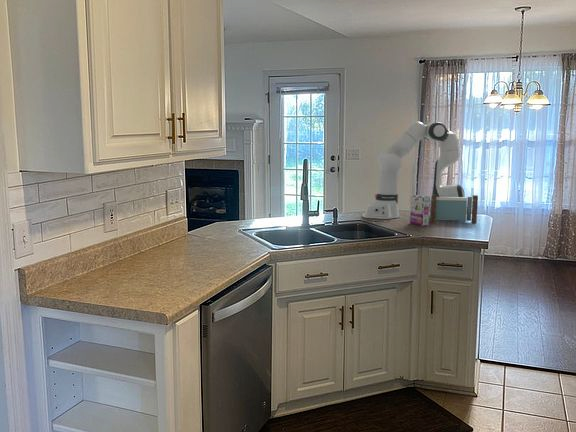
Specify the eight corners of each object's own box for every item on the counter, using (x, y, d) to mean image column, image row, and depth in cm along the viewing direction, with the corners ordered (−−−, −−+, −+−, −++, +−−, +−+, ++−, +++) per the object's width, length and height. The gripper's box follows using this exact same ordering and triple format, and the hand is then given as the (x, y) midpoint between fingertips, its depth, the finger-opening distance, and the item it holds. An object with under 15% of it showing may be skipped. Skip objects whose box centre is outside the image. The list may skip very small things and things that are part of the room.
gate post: (472, 223, 318) (473, 195, 316) (471, 222, 321) (472, 195, 319) (476, 223, 318) (478, 195, 315) (475, 222, 321) (477, 195, 318)
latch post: (431, 222, 320) (432, 195, 318) (430, 222, 322) (431, 194, 320) (435, 223, 320) (436, 195, 317) (435, 222, 322) (436, 194, 320)
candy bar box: (429, 225, 311) (430, 196, 309) (422, 226, 309) (423, 197, 307) (416, 222, 321) (417, 194, 319) (409, 223, 319) (410, 194, 317)
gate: (430, 219, 322) (431, 196, 320) (429, 218, 325) (430, 195, 323) (471, 220, 318) (472, 197, 316) (470, 220, 321) (471, 196, 319)
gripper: (434, 202, 339) (428, 205, 327) (469, 204, 329) (464, 207, 317) (434, 212, 340) (428, 216, 328) (468, 215, 330) (463, 218, 318)
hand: (446, 212), depth 323 cm, fingers closed
